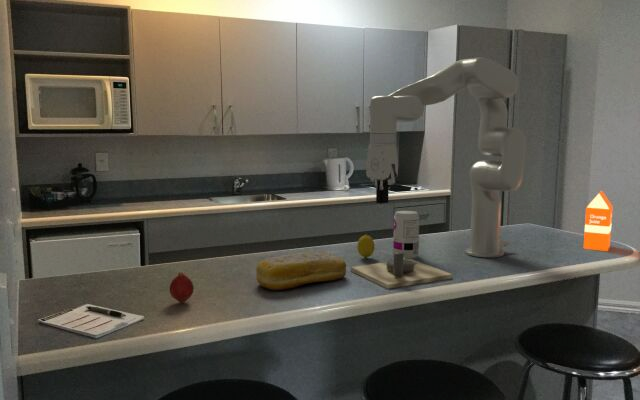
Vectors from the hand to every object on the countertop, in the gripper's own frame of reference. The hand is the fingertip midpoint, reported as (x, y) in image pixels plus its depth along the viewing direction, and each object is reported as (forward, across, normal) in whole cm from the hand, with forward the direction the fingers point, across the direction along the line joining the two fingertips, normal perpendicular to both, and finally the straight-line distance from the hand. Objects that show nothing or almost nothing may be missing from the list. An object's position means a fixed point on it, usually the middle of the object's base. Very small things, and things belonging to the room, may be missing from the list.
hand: (382, 202), depth 162 cm
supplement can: (+21, -12, +18) cm, 31 cm away
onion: (+21, -2, -59) cm, 63 cm away
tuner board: (+21, +4, +4) cm, 22 cm away
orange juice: (+21, +10, +86) cm, 89 cm away
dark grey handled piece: (+19, +3, +5) cm, 20 cm away
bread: (+22, -4, -25) cm, 33 cm away
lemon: (+21, -17, +6) cm, 28 cm away
